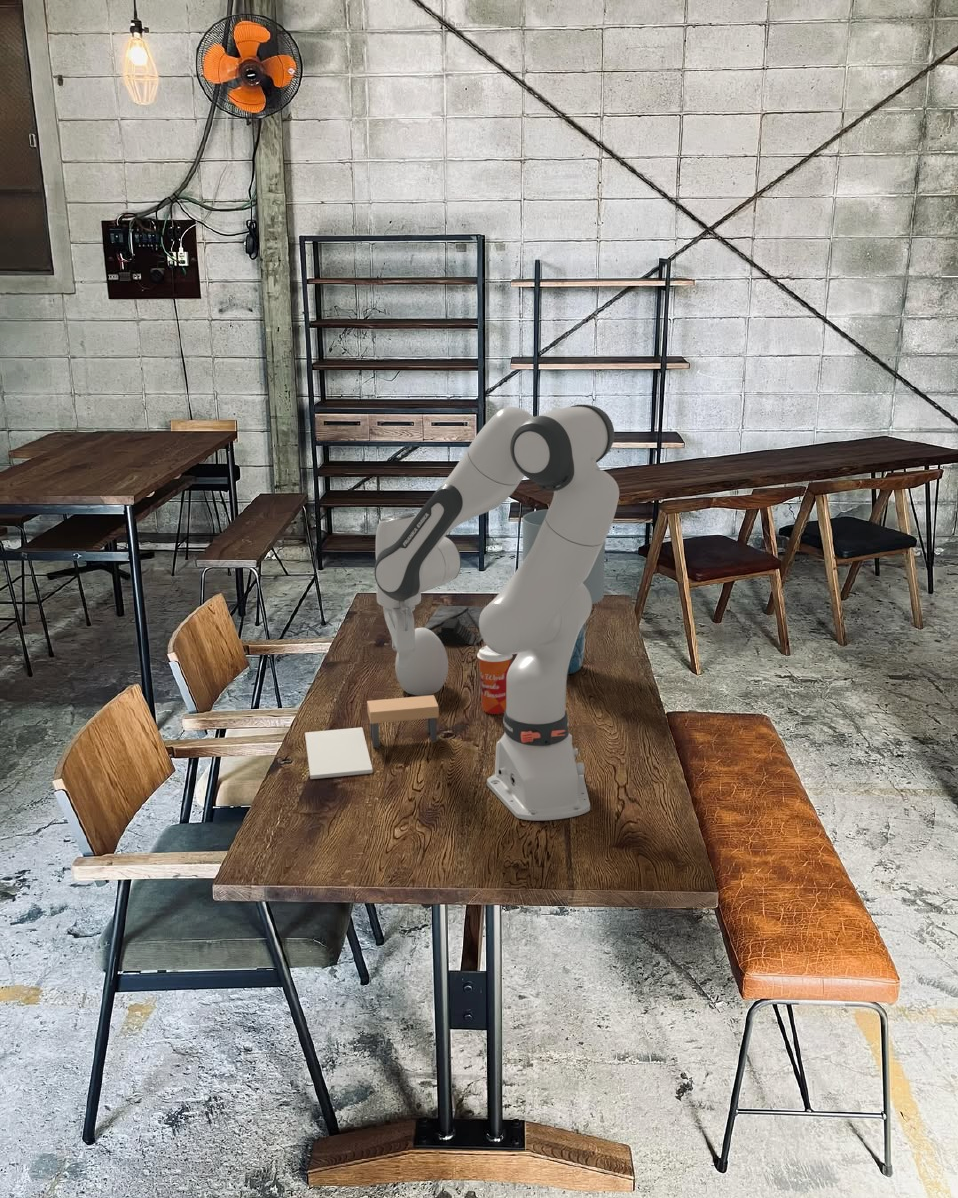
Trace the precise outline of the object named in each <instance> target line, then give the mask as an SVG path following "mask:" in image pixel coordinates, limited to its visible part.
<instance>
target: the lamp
mask: <svg viewBox="0 0 958 1198" xmlns="http://www.w3.org/2000/svg"><path fill="white" fill-rule="evenodd" d="M548 509H549V508H548ZM548 509H540V510H535V511H530V512H527V513H526V514H524V515H523V516H522V562H523V561H524V559H525V558H526V556H527V555H528V553H529V552H530V550H531V548H532V546H533V544H534V541H535V539H536V537H537V535H538V532H539V530H540V528H541V526H542V523H543V521H544V519H545V516H546V514H547V512H548ZM605 553H606V540H605V541H604V543H603V546H602V548H601V550H600V552H599V554H598V556H597V558H596V561H595V563H594V565H593V567H592V569H591V571H590V573H589V575H588V577H587V578H586V580H585V581H584V582H583V584H584V585H585V586H586V588H587V589H588V591H589V593H590V596H591V600H592V605H595V604H597V603H599V602H601V601H602V600H603V599H604V588H605V587H604V584H605V583H604V582H605V556H606V555H605ZM585 644H586V622H585V623H584V624H583V626H582V628H581V630H580V632H579V634H578V637H577V640H576V643H575V646H574V649H573V652H572V656H571V659H570V663H569V667H568V672H567V675H572V674H575V673H577V672H579V670H580V669H581V668H582V666H583V662H584V654H585Z"/></svg>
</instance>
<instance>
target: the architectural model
mask: <svg viewBox="0 0 958 1198" xmlns="http://www.w3.org/2000/svg"><path fill="white" fill-rule="evenodd" d="M485 607H486V606H463V605H462V606H461V605H438V606H437V608H436V610H435V611H434V612H433V614H432V615H431V617H430V618H429V619H428V621H427V623H426V624H425V626H424V627H423V628H427V629H429V630H431V631H432V630H433V631H432V632H433V633H434V634H436V636H437V637H438V638H439V639H440V640H441V642H442V644H443V645H455V646H469V645H471V646H475V647H477V646H480V642H481V640H483V639H482V637H481V634H480V630H479V618H480V614H481V612H482V610H483V609H484V608H485ZM475 628H476V629H475ZM435 629H436V630H435ZM470 629H471V630H470ZM472 629H473V630H474V631H473V630H472ZM475 630H477V631H478V632H477V633H478V634H477V633H476V632H475ZM477 637H478V638H477ZM476 638H477V640H476Z"/></svg>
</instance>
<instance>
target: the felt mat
mask: <svg viewBox="0 0 958 1198" xmlns="http://www.w3.org/2000/svg"><path fill="white" fill-rule="evenodd" d="M304 737H305V745H306V746H305V747H306V753H307V762H308V770H309V777H310V778H309V779H310V780H315V779H317V780H318V779H325V778H326V779H327V778H338V777H344V776H345V777H346V776H355V775H357V776H358V775H367V774H368V775H369V774H373V772H374V769H373V766H372V762H371V757H370V753H369V749H368V745H367V742H366V738H365V733H364V729H363V727H362V726H361V727H353V728H351V727H350V728H340V729H329V730H319V731H318V730H317V731H316V730H315V731H308V732H304Z"/></svg>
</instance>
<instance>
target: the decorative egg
mask: <svg viewBox="0 0 958 1198" xmlns="http://www.w3.org/2000/svg"><path fill="white" fill-rule="evenodd" d="M433 632H434V631H432V630H430V629H427V628H424V627H416V628H415V651H414V652H410V653H409V658H408V667H406V668H400V667H399V664H398V657H399V654H398V652H397V651H396V655H395V664H394V668H395V674H396V679H397V681H398V683H399V686H400V687H401V688H402V690H403V691H405V692H406V693H407V694H409V695H412V694H413V695H412V696H430V695H434V694H435V693H437V692H439V691H440V690H441V689H442V688H443V686H444V685H445V683H446V680H447V677H448V674H449V658H448V654H447V650H446V648H445V646H444V644H442V642H441V640H440V639H439V638H440V637H439V638H438V637H437V636H436V634H434V633H433Z"/></svg>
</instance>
